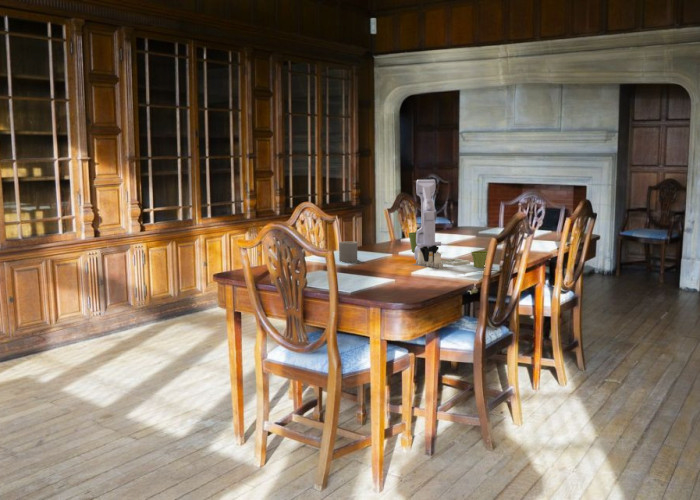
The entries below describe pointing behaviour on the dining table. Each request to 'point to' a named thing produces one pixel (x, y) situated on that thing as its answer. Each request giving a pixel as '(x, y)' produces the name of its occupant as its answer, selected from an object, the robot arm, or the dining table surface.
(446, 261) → the tray
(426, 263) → the cylinder
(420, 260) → the fuse left
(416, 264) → the fuse holder
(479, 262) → the plant pot
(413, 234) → the plant pot
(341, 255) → the grey block
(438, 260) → the fuse right
